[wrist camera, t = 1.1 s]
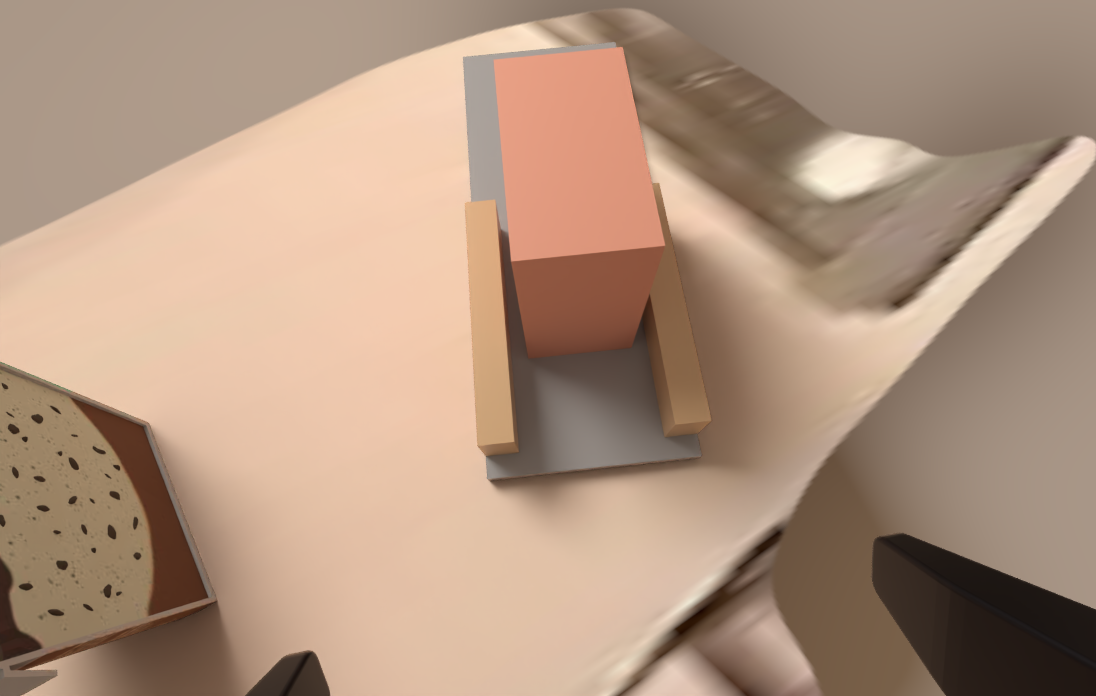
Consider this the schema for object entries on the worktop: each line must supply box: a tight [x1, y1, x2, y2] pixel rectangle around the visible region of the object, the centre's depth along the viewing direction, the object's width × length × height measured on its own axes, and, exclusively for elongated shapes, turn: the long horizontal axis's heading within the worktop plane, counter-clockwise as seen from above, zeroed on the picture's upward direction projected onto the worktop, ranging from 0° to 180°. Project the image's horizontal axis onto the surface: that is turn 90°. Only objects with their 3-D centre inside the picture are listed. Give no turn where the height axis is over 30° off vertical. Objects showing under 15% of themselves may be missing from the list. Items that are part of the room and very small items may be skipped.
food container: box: [0, 362, 217, 696], centre depth 18 cm, size 12×6×10 cm, turn 34°
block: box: [494, 47, 665, 359], centre depth 23 cm, size 9×5×9 cm, turn 6°
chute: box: [463, 42, 712, 481], centre depth 27 cm, size 26×10×3 cm, turn 6°
